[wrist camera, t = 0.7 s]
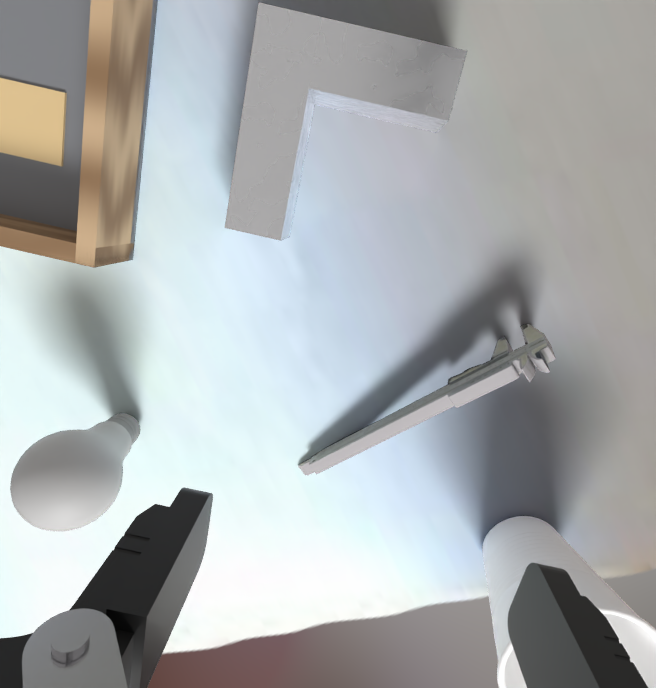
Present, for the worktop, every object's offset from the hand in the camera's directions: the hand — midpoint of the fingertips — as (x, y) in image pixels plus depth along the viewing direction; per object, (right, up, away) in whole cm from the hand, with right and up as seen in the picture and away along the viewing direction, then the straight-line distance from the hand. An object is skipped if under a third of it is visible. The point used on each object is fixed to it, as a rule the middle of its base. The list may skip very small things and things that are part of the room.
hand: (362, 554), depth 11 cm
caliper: (+5, +1, +23) cm, 24 cm away
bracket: (0, +18, +19) cm, 26 cm away
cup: (+15, -11, +26) cm, 32 cm away
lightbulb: (-17, -1, +25) cm, 30 cm away
